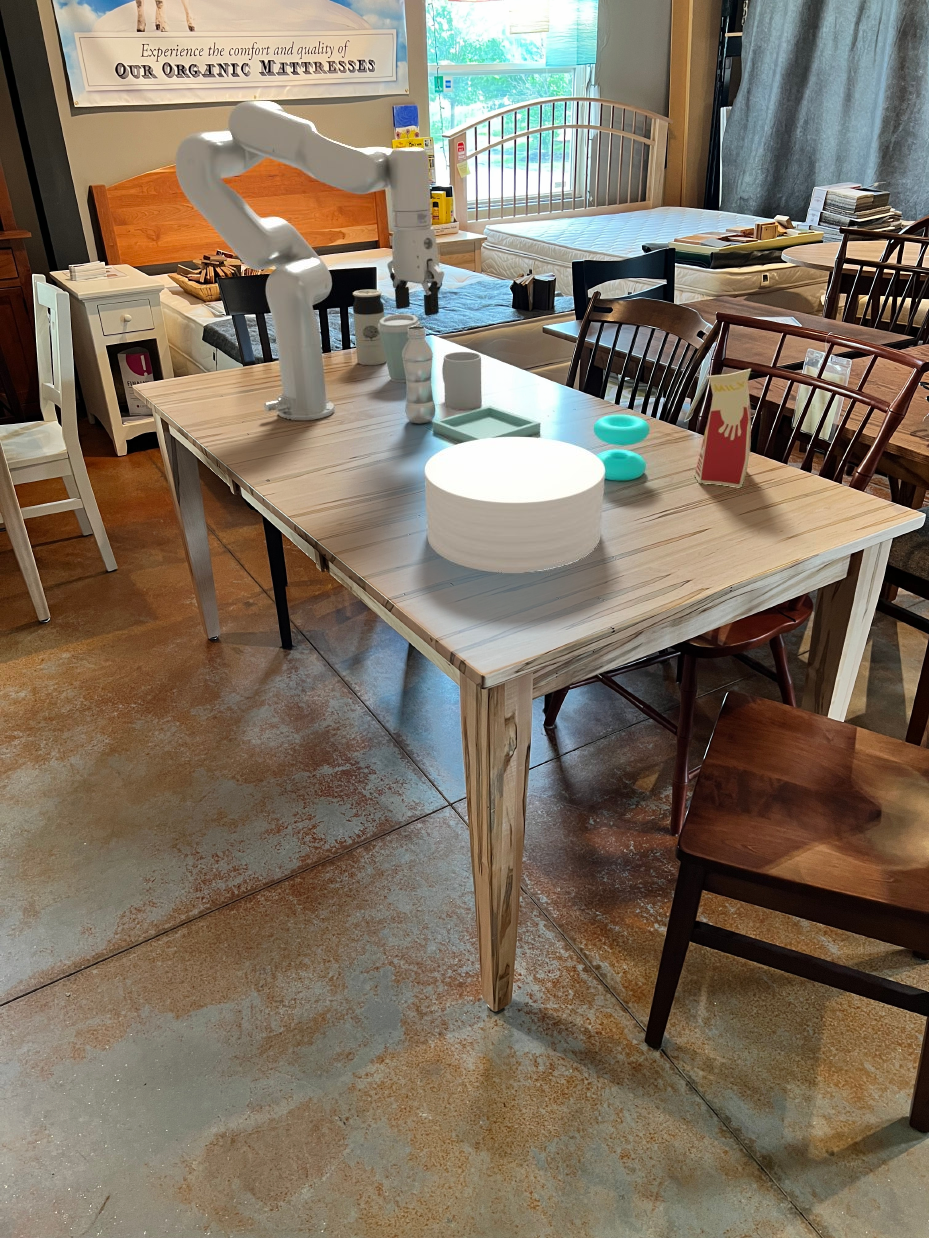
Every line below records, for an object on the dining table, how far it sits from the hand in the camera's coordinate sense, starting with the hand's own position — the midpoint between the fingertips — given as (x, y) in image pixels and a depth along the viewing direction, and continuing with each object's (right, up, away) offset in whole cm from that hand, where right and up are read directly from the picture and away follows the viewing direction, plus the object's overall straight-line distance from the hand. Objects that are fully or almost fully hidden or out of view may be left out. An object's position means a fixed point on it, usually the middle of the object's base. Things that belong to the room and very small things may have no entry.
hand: (417, 311), depth 177 cm
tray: (+14, -24, +5) cm, 28 cm away
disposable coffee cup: (-6, -3, +41) cm, 42 cm away
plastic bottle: (0, -20, +12) cm, 24 cm away
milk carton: (+57, -37, -18) cm, 70 cm away
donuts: (+38, -36, -15) cm, 55 cm away
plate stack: (+18, -49, -37) cm, 64 cm away
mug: (+8, -13, +24) cm, 28 cm away
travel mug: (-15, +6, +56) cm, 58 cm away
